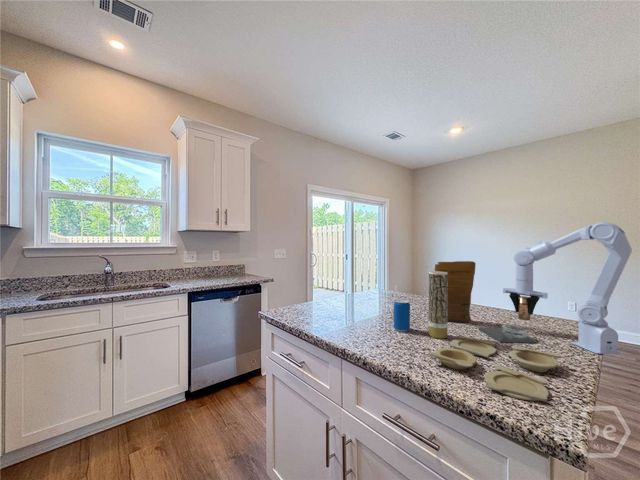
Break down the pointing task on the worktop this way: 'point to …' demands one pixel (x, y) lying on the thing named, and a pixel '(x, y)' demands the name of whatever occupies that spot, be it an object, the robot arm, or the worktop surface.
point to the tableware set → (506, 378)
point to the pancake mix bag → (458, 288)
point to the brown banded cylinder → (523, 308)
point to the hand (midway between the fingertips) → (524, 313)
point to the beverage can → (401, 315)
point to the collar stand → (508, 334)
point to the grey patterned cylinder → (438, 304)
